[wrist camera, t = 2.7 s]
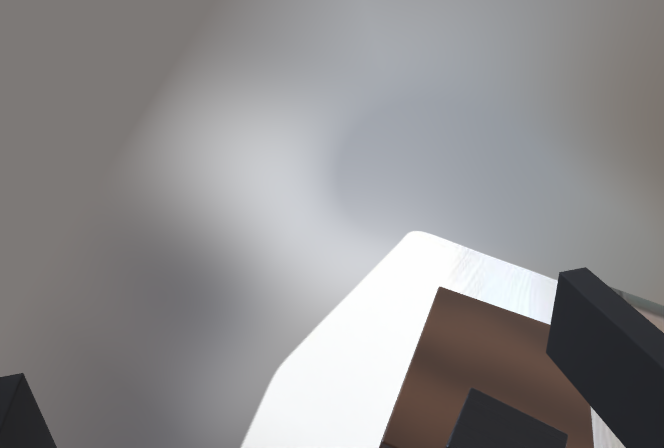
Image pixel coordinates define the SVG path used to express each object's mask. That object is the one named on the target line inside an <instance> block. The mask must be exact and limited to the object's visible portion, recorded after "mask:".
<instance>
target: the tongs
mask: <svg viewBox="0 0 664 448" xmlns="http://www.w3.org/2000/svg"><path fill="white" fill-rule="evenodd" d="M567 440H568V434H567V433H565V432H563V431H561V430H559V429H556V428H554V427H552V426H550V425H548V424H546V423H544V422H542V421H540V420H538V419H536V418H534V417H532V416H530V415H528V414H526V413H524V412H522V411H520V410H518V409H516V408H514V407H512V406H510V405H508V404H506V403H504V402H501V401H499V400H497V399H495V398H493V397H491V396H489V395H487V394H485V393H483V392H481V391H479V390H477V389H475V388H470V390H469V392H468V394H467V397H466V399H465V401H464V404H463V406H462V408H461V411H460V413H459V415H458V418H457V420H456V422H455V425H454V427H453V429H452V432H451V434H450V436H449V438H448V441H447V443H446V445H445V448H566V445H567Z"/></svg>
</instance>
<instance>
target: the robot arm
mask: <svg viewBox="0 0 664 448" xmlns="http://www.w3.org/2000/svg"><path fill="white" fill-rule="evenodd" d="M546 354H547V355H548V356H549V357H550V358H551V359H552V361H553V362H554V363H555V364H556V365H557V367H558V368H559V369H560V370H561V371H562V373H563V374H564V375H565V376H566V377H567V378H568V380H569V381H570V382H571V383H572V384H573V386H574V387H575V388H576V389H577V390H578V391H579V393H580V394H581V395H582V396H583V397H584V399H585V400H586V401H587V402H588V403H589V405H590V406H591V407H592V408H593V409H594V410H595V412H596V413H597V414H598V415H599V416H600V418H601V419H602V420H603V421H604V422H605V423H606V425H607V426H608V427H609V428H610V429H611V431H612V432H613V433H614V434H615V435H616V437H617V438H618V439H619V440H620V441H621V442H622V444H623V445H624V446H625V447H626V448H664V333H663V332H662V331H661V330H659V329H658V328H657V327H656V326H655V325H654V324H652V323H651V322H650V321H649V320H648V319H646V318H645V317H644V316H643V315H642V314H640V313H639V312H638V311H637V310H636V309H635V308H633V307H632V306H631V305H630V304H629V303H627V302H626V301H625V300H624V299H623V298H622V297H620V296H619V295H618V294H617V293H616V292H614V291H613V290H612V289H611V288H610V287H608V286H607V285H606V284H605V283H604V282H602V281H601V280H600V279H599V278H598V277H597V276H595V275H594V274H593V273H592V272H591V271H590V270H588V269H587V268H580V269H575V270H569V271H564V272H560V273H559V278H558V284H557V290H556V296H555V302H554V307H553V313H552V319H551V325H550V331H549V337H548V342H547V348H546ZM0 448H57V447H56V445H55V443H54V440H53V438H52V436H51V434H50V432H49V429H48V427H47V425H46V423H45V420H44V418H43V416H42V414H41V412H40V410H39V407H38V405H37V403H36V401H35V398H34V396H33V394H32V392H31V389H30V387H29V385H28V383H27V381H26V379H25V376H24V374H23V373H21V374H15V375H10V376H5V377H0Z"/></svg>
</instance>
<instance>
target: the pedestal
mask: <svg viewBox="0 0 664 448" xmlns="http://www.w3.org/2000/svg"><path fill="white" fill-rule="evenodd" d="M549 331H550V325H549V324H546V323H543V322H540V321H537V320H534V319H532V318H529V317H526V316H523V315H520V314H517V313H514V312H511V311H509V310H506V309H503V308H500V307H497V306H494V305H491V304H489V303H486V302H483V301H480V300H477V299H474V298H471V297H469V296H466V295H463V294H460V293H457V292H454V291H451V290H448V289H446V288H443V287H439V288H438V291H437V293H436V296H435V299H434V301H433V304H432V307H431V309H430V312H429V315H428V317H427V320H426V323H425V325H424V328H423V331H422V333H421V336H420V339H419V341H418V344H417V347H416V349H415V352H414V355H413V357H412V360H411V363H410V365H409V368H408V371H407V373H406V376H405V379H404V381H403V384H402V387H401V389H400V392H399V395H398V397H397V400H396V403H395V405H394V408H393V411H392V414H391V416H390V419H389V422H388V424H387V427H386V430H385V432H384V435H383V438H382V440H381V443H380V446H379V448H445V445H446V443H447V441H448V438H449V436H450V434H451V432H452V429H453V427H454V425H455V422H456V420H457V418H458V415H459V413H460V411H461V408H462V406H463V404H464V401H465V399H466V397H467V394H468V392H469V390H470V388H475V389H477V390H479V391H481V392H483V393H485V394H487V395H489V396H491V397H493V398H495V399H497V400H499V401H501V402H504V403H506V404H508V405H510V406H512V407H514V408H516V409H518V410H520V411H522V412H524V413H526V414H528V415H530V416H532V417H534V418H536V419H538V420H540V421H542V422H544V423H546V424H548V425H550V426H552V427H554V428H556V429H559V430H561V431H563V432H565V433H567V434H568V440H567V445H566V448H594V442H593V430H592V418H591V407H590V405H589V403H588V402H587V401H586V400H585V399H584V397H583V396H582V395H581V394H580V393H579V391H578V390H577V389H576V388H575V387H574V386H573V384H572V383H571V382H570V381H569V380H568V378H567V377H566V376H565V375H564V374H563V373H562V371H561V370H560V369H559V368H558V367H557V365H556V364H555V363H554V362H553V361H552V359H551V358H550V357H549V356H548V355H547V354H546V348H547V342H548V337H549Z"/></svg>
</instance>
